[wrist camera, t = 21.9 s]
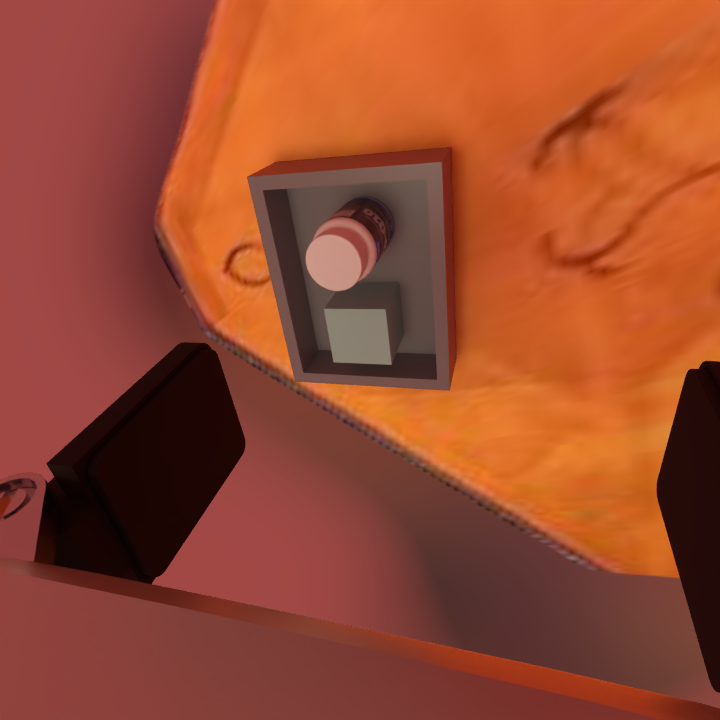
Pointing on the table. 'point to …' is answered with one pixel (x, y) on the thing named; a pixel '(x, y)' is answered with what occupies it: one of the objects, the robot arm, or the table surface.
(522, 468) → the table surface
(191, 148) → the table surface
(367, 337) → the gray cube
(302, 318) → the tote
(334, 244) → the pill bottle
